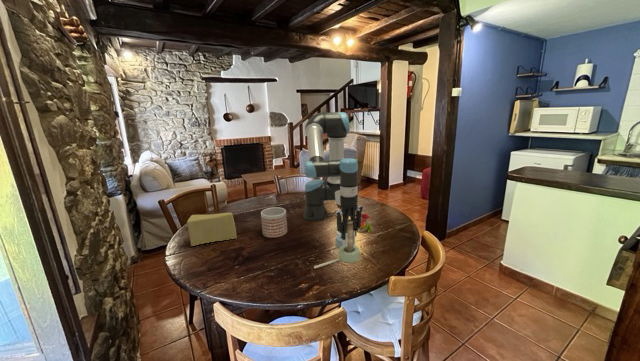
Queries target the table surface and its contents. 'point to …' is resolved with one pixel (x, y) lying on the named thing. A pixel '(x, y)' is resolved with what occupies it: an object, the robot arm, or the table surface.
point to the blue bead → (339, 241)
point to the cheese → (211, 228)
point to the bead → (349, 254)
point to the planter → (274, 222)
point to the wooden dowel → (349, 236)
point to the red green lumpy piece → (363, 219)
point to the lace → (326, 263)
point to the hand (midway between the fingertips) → (349, 244)
